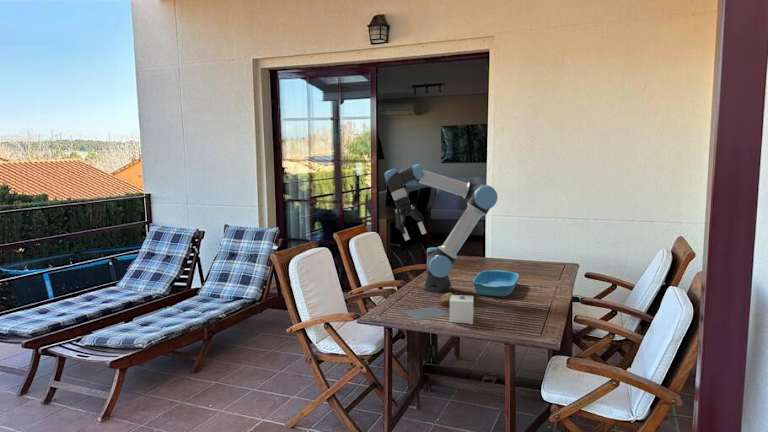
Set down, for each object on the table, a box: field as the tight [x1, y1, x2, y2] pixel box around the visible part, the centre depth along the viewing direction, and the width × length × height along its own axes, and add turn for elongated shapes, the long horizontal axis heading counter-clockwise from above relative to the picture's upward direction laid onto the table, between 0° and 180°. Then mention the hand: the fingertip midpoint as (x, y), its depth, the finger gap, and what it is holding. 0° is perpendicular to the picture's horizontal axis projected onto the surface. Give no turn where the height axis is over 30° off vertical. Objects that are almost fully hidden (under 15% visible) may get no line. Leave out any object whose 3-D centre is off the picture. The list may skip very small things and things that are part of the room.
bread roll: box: [439, 292, 455, 308], centre depth 250 cm, size 10×10×8 cm
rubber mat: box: [402, 306, 450, 321], centre depth 236 cm, size 18×14×1 cm
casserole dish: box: [472, 269, 520, 297], centre depth 279 cm, size 37×22×7 cm, turn 159°
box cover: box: [449, 294, 474, 325], centre depth 226 cm, size 10×10×11 cm
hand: (416, 236), depth 260 cm, fingers open, 13 cm apart
